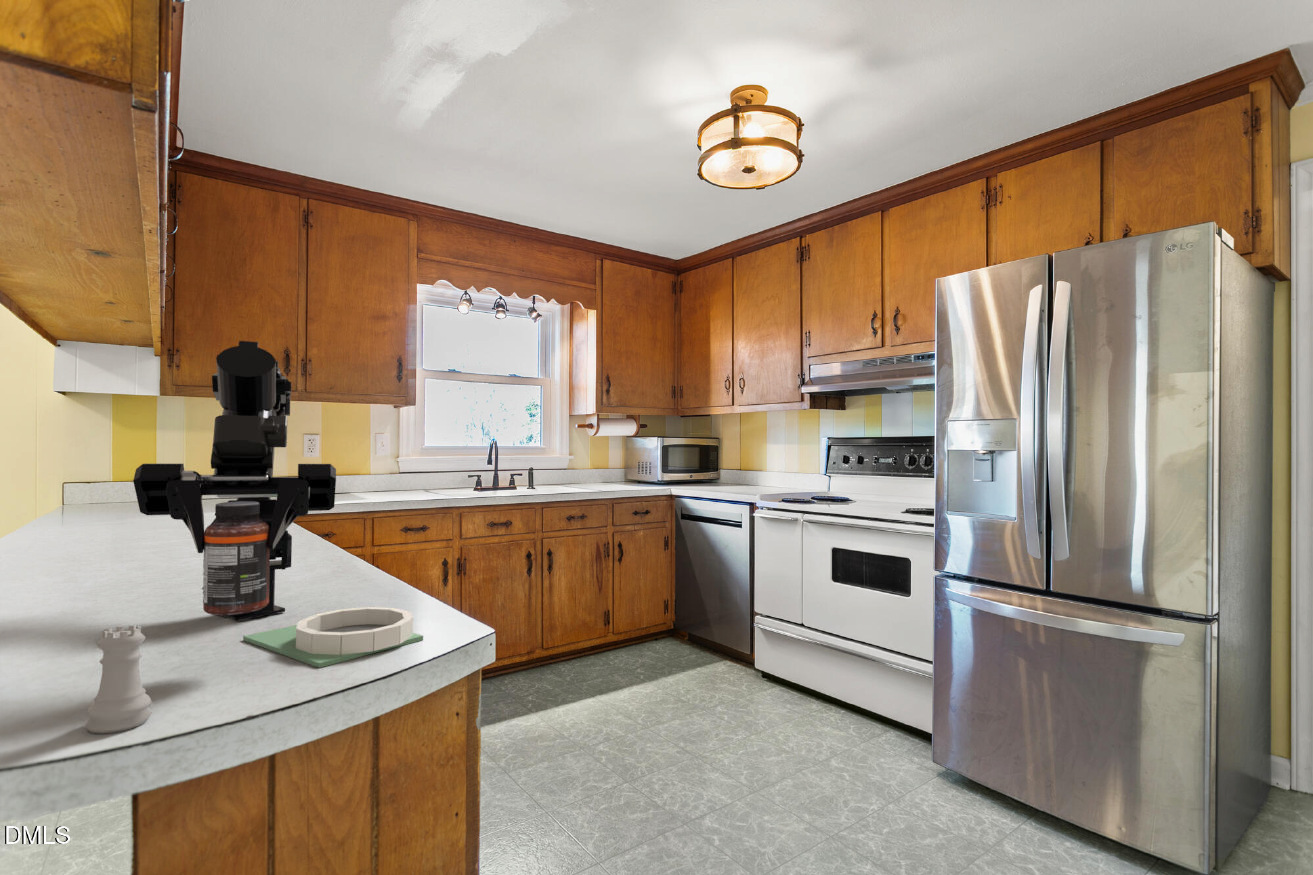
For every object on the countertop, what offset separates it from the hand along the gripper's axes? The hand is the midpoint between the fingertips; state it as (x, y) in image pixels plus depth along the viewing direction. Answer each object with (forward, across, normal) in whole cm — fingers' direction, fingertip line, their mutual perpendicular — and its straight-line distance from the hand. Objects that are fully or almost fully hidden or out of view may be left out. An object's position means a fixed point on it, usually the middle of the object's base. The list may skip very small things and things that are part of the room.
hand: (236, 548), depth 69 cm
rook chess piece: (+17, -7, +2) cm, 18 cm away
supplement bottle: (+4, 0, +6) cm, 7 cm away
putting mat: (+3, +10, +15) cm, 18 cm away
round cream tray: (+5, +12, +14) cm, 19 cm away
